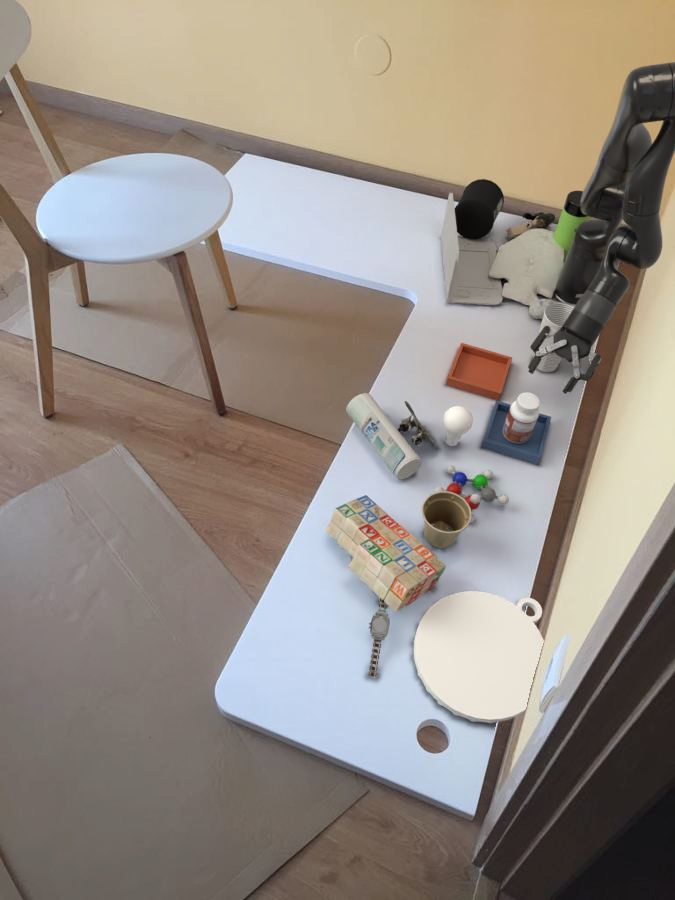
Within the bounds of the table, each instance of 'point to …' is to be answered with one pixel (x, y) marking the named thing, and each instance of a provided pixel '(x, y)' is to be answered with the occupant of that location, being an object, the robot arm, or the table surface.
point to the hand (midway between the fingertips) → (547, 382)
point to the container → (478, 209)
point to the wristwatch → (378, 634)
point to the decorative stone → (540, 308)
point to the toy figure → (531, 223)
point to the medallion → (479, 654)
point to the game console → (468, 265)
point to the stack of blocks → (384, 553)
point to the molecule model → (479, 482)
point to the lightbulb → (457, 423)
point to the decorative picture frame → (410, 424)
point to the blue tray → (523, 451)
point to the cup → (555, 320)
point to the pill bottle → (521, 418)
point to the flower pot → (444, 518)
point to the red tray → (479, 371)
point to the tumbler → (569, 221)
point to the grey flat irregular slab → (529, 266)
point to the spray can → (383, 436)
